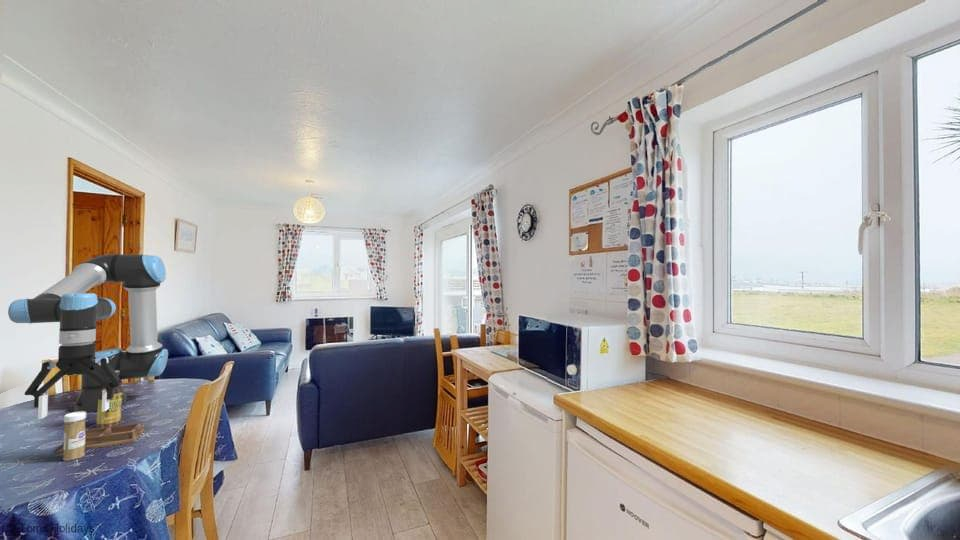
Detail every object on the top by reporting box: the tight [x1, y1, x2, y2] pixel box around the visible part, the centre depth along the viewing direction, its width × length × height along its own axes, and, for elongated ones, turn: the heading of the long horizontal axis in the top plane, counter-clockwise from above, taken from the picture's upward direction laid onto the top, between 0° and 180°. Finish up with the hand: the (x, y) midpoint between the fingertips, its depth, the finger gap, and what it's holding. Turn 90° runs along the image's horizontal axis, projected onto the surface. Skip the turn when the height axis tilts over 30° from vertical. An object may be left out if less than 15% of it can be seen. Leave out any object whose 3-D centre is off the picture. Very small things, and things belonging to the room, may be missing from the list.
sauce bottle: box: [96, 371, 123, 429], centre depth 132 cm, size 6×6×20 cm
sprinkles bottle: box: [62, 411, 87, 462], centre depth 109 cm, size 5×5×14 cm
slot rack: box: [55, 422, 148, 455], centre depth 120 cm, size 12×18×3 cm, turn 117°
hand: (74, 413), depth 109 cm, fingers open, 13 cm apart
